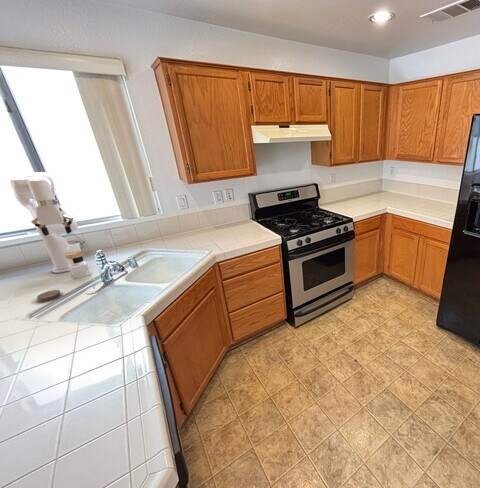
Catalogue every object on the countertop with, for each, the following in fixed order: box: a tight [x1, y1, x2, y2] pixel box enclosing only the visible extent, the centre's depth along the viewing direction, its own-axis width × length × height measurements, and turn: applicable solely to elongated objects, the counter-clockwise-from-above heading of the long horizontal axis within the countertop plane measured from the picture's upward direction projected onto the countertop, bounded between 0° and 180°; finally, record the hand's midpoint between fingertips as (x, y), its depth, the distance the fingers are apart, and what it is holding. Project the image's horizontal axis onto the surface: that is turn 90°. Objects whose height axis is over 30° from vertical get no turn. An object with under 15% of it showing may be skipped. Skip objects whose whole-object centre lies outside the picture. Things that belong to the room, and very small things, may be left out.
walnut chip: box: [36, 289, 62, 303], centre depth 132 cm, size 8×8×2 cm
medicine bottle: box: [68, 256, 91, 280], centre depth 153 cm, size 7×7×12 cm
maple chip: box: [65, 249, 84, 259], centre depth 151 cm, size 7×7×3 cm
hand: (58, 234), depth 143 cm, fingers open, 9 cm apart
